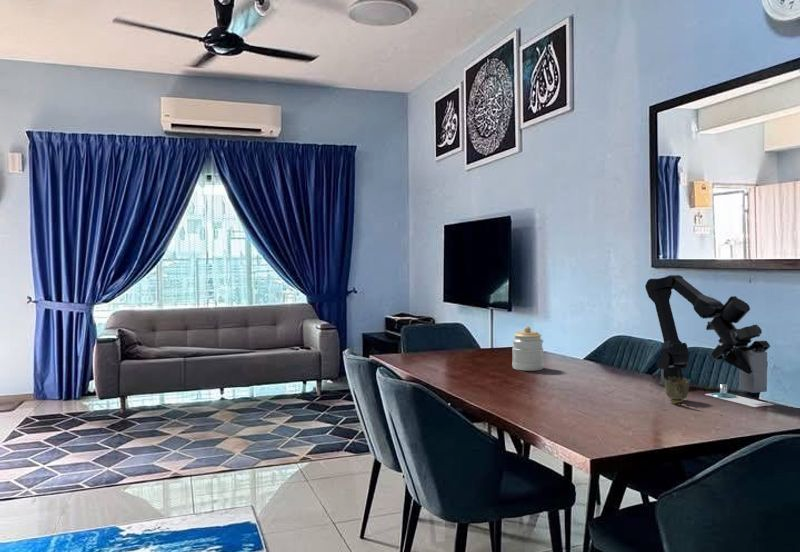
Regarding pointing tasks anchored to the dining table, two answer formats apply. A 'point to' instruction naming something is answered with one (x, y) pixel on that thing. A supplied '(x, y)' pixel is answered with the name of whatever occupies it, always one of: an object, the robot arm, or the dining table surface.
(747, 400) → the mounting plate
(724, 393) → the teal base with post
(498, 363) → the dining table surface
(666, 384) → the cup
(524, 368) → the jar
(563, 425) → the dining table surface
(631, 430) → the dining table surface
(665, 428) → the dining table surface
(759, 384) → the tall grey box
